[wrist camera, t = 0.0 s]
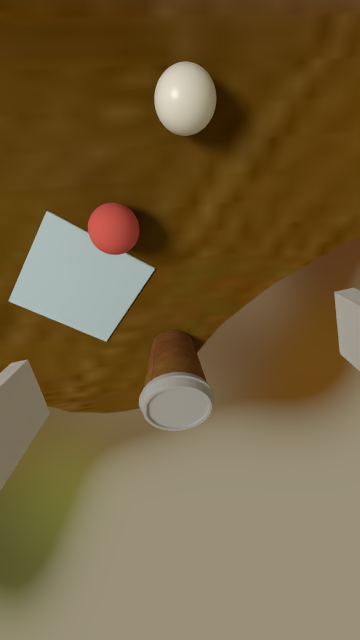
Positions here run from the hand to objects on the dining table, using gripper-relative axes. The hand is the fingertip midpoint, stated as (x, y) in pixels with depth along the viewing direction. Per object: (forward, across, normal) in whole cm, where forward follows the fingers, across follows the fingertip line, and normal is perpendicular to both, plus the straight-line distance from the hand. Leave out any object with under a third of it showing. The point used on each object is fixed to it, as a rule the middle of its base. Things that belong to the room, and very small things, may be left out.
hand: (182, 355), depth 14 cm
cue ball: (+22, +4, +15) cm, 26 cm away
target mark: (+29, -14, 0) cm, 32 cm away
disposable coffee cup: (+34, -5, -13) cm, 37 cm away
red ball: (+25, -6, +5) cm, 26 cm away
